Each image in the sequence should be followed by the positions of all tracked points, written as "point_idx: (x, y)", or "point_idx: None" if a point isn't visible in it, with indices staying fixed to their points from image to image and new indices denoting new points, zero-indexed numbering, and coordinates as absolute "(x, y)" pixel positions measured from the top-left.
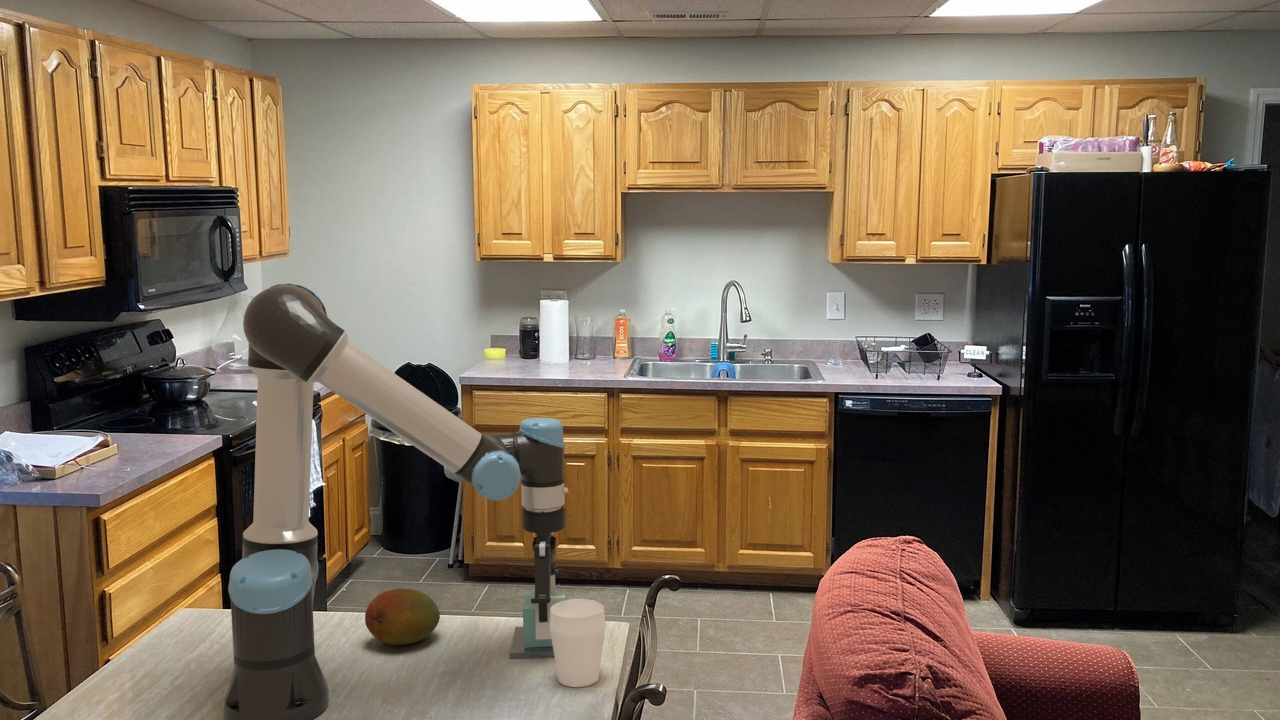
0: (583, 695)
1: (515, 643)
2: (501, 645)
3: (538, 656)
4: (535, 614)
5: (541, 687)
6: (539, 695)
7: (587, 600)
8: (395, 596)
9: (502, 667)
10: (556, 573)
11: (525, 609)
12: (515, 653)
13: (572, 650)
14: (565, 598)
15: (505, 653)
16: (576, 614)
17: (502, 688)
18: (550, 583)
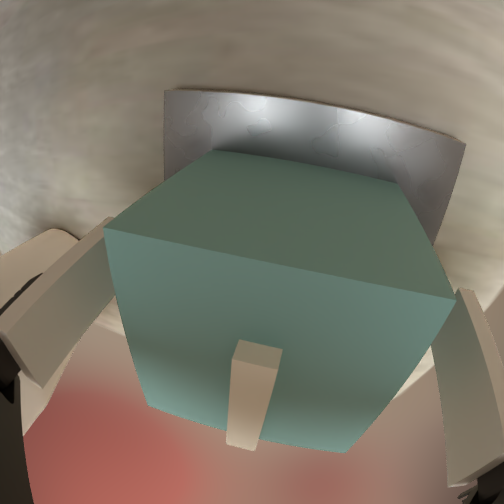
0: None
1: (265, 113)
2: (324, 54)
3: None
4: (33, 282)
5: (30, 189)
6: (9, 184)
7: None
8: None
9: (112, 73)
10: (463, 493)
11: (111, 243)
12: (165, 113)
13: None
14: (260, 437)
15: (230, 69)
16: (33, 387)
17: (18, 101)
18: (458, 441)
